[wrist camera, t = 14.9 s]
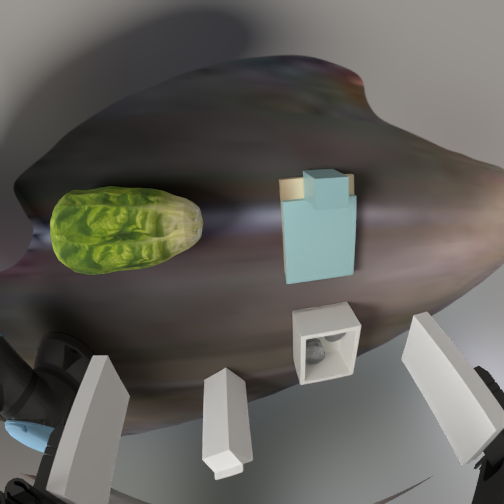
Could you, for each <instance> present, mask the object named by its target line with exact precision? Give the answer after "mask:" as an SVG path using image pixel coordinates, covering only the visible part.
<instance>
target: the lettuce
mask: <svg viewBox="0 0 504 504" xmlns="http://www.w3.org/2000/svg"><path fill="white" fill-rule="evenodd" d="M202 228H203V219H202V215H201V211H200V208H199V207H198V206H197V205H196V204H194V203H193V202H191V201H190V200H188V199H186V198H183V197H179V196H175V195H172V194H170V193H167V192H165V191H162V190H157V189H152V188H124V187H115V186H109V187H102V188H96V189H91V190H87V191H85V190H73V191H71V192H69V193H67V194H66V195H65V196H64V197H63V198H62V199H60V200H59V202H58V203H57V205H56V206H55V208H54V210H53V214H52V218H51V224H50V236H51V241H52V246H53V250H54V252H55V254H56V256H57V258H58V260H59V261H61V262H62V263H63V264H64V265H66V266H67V267H69V268H70V269H72V270H73V271H75V272H78V273H83V274H89V275H94V274H105V273H109V272H114V271H121V270H135V269H142V268H147V267H150V266H154V265H157V264H160V263H162V262H165V261H167V260H168V259H170V258H172V257H173V256H175V255H177V254H179V253H181V252H183V251H185V250H187V249H189V248H190V247H192V246H193V245H194V244H195V243H196V242H197V241H198V240H199V239H200V238H201V235H202Z"/></svg>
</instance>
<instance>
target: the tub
mask: <svg viewBox="0 0 504 504" xmlns="http://www.w3.org/2000/svg"><path fill="white" fill-rule="evenodd" d="M292 321H293V360H294V364H295V368H296V371H297V375H298V379H299V382H300V385H303V384H309V383H314V382H320V381H325V380H329V379H334V378H339V377H343V376H348V375H352V374H353V370H354V364H355V360H356V354H357V349H358V343H359V337H360V330H361V324H360V323H359V321H358V319H357V317H356V316H355V314H354V312H353V311H352V309H351V307H350V306H349V304H348V303H347V302H342V303H336V304H330V305H324V306H318V307H311V308H305V309H298V310H292ZM345 332H346V333H345ZM340 333H345V335H344V336H343V337H342V338H341V339H340V340H338V341H335V342H329V341H327V340H326V339H325V337H324V336H329V335H334V334H340ZM312 338H317V339H319V340H320V341H321V344H322V346H323V348H324V351H325V354H326V355H325V358H324V359H323V360H322V361H321V362H319V363H317V364H312V365H311V364H307V363H306V362H305V358H306V340H307V339H312Z"/></svg>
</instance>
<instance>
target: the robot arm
mask: <svg viewBox="0 0 504 504" xmlns="http://www.w3.org/2000/svg"><path fill="white" fill-rule="evenodd" d="M401 360H402V361H403V363H404V364H405V366H406V368H407V370H408V371H409V373H410V374H411V376H412V378H413V379H414V381H415V383H416V384H417V386H418V388H419V389H420V391H421V392H422V395H423V396H424V398H425V400H426V401H427V403H428V405H429V407H430V408H431V410H432V412H433V414H434V415H435V417H436V419H437V421H438V422H439V424H440V426H441V428H442V430H443V432H444V433H445V435H446V437H447V439H448V441H449V443H450V445H451V446H452V448H453V450H454V452H455V454H456V456H457V458H458V460H459V461H460V464H461V466H464V465H466V464H468V463H469V462H471V461H473V460H474V459H476V458H477V457H478V456H479V455H480V454H481V453H482V452H484V454H485V456H483V457H482V458H481V460H480V461H478V463H477V464H476V465H475V467H474V469H476V468H478V467H479V466H480V465H481V464H482V465H481V467H480V468H479V470H480V474H479V478H478V482H477V486H476V490H475V494H474V497H473V501H472V504H504V393H503V391H502V390H501V389H500V387H499V385H498V384H497V383H495V380H494V379H493V378H492V376H491V375H490V374H489V372H488V371H486V370H485V369H483V368H481V367H480V366H477V367H475V368H473V367H472V366H471V365H470V363H469V362H468V361H467V360H466V358H465V357H464V356H463V354H462V353H461V352H460V351H459V349H458V348H457V347H456V346H455V344H454V343H453V342H452V341H451V339H450V338H449V337H448V336H447V335H446V333H445V332H444V331H443V330H442V329H441V327H440V326H439V325H438V324H437V323H436V322H435V320H434V319H433V318H432V317H431V316H430V315H429V313H428V312H424V313H420V314H417V315H414V316H413V320H412V324H411V327H410V331H409V335H408V339H407V342H406V346H405V349H404V352H403V356H402V359H401ZM129 398H130V395H129V394H128V392H127V390H126V388H125V387H124V385H123V383H122V381H121V380H120V378H119V376H118V374H117V372H116V370H115V368H114V367H113V365H112V363H111V361H110V359H109V357H108V355H94V354H93V353H92V351H91V350H90V349H89V348H88V347H87V346H85V345H84V344H83V343H82V342H80V341H79V340H77V339H75V338H73V337H71V336H69V335H67V334H63V333H58V332H52V333H48V334H46V335H45V336H44V337H43V338H42V339H41V341H40V343H39V344H38V347H37V356H36V360H35V365H34V369H32V368H31V367H30V366H29V365H28V364H27V363H26V362H25V361H24V360H23V359H22V358H21V356H20V355H19V354H18V353H17V352H16V351H15V350H14V349H13V348H12V346H11V345H10V344H9V343H8V342H7V341H6V339H5V338H4V336H3V334H0V414H1V415H2V416H3V417H4V418H6V419H7V421H6V422H5V424H6V426H5V427H6V430H7V431H8V432H9V434H10V435H11V436H12V437H14V438H15V439H17V440H18V441H20V442H21V443H23V444H25V445H26V446H28V447H30V448H33V449H35V450H38V451H41V452H44V455H43V457H42V460H41V463H40V466H39V470H38V473H37V476H36V480H35V483H34V486H31V485H30V484H28V483H27V482H26V481H24V480H23V479H20V478H14V479H12V480H10V481H9V482H8V483H7V485H6V487H5V492H4V493H3V492H1V491H0V504H108V501H109V495H110V489H111V483H112V477H113V472H114V466H115V461H116V456H117V451H118V446H119V441H120V437H121V432H122V427H123V423H124V419H125V414H126V410H127V406H128V402H129Z"/></svg>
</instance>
